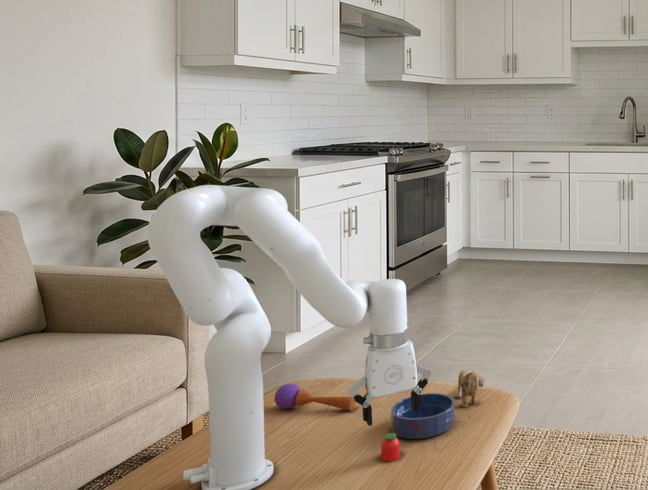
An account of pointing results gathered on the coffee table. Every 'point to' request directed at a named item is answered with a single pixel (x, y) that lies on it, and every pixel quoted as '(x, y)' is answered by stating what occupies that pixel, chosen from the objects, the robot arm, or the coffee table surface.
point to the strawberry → (390, 447)
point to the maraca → (308, 398)
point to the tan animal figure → (469, 385)
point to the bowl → (423, 416)
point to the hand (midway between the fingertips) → (392, 417)
